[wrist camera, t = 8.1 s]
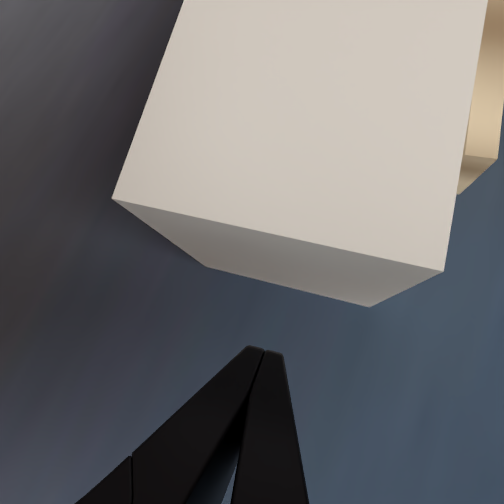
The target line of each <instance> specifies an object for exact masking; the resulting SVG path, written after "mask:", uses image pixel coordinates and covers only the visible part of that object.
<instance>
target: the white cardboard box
mask: <svg viewBox="0 0 504 504" xmlns="http://www.w3.org/2000/svg"><path fill="white" fill-rule="evenodd" d="M487 3H488V0H184V2H183V4H182V7H181V10H180V13H179V15H178V18H177V21H176V23H175V26H174V29H173V32H172V34H171V37H170V40H169V43H168V45H167V48H166V51H165V54H164V56H163V59H162V62H161V64H160V67H159V70H158V73H157V75H156V78H155V81H154V84H153V86H152V89H151V92H150V95H149V97H148V100H147V103H146V106H145V108H144V111H143V114H142V116H141V119H140V122H139V125H138V127H137V130H136V133H135V136H134V138H133V141H132V144H131V147H130V149H129V152H128V155H127V158H126V160H125V163H124V166H123V168H122V171H121V174H120V177H119V179H118V182H117V185H116V188H115V190H114V193H113V196H112V199H113V200H114V201H116V202H117V203H118V204H120V205H121V206H123V207H124V208H125V209H127V210H128V211H130V212H131V213H132V214H134V215H135V216H136V217H138V218H139V219H141V220H142V221H143V222H145V223H146V224H147V225H149V226H150V227H152V228H153V229H154V230H156V231H157V232H159V233H160V234H161V235H163V236H164V237H165V238H167V239H168V240H170V241H171V242H172V243H174V244H175V245H177V246H178V247H179V248H181V249H182V250H183V251H185V252H186V253H188V254H189V255H190V256H192V257H193V258H194V259H196V260H197V261H199V262H200V263H201V264H203V265H204V266H206V267H209V268H213V269H217V270H221V271H225V272H229V273H233V274H237V275H241V276H245V277H249V278H254V279H258V280H262V281H266V282H270V283H274V284H278V285H282V286H286V287H290V288H294V289H298V290H302V291H306V292H310V293H314V294H318V295H322V296H326V297H330V298H334V299H338V300H342V301H346V302H350V303H354V304H358V305H362V306H366V307H371V306H373V305H375V304H377V303H379V302H381V301H383V300H385V299H387V298H389V297H391V296H394V295H396V294H398V293H400V292H402V291H404V290H406V289H408V288H410V287H412V286H414V285H416V284H419V283H421V282H423V281H425V280H427V279H429V278H431V277H433V276H435V275H437V274H439V273H441V272H444V266H445V260H446V254H447V247H448V241H449V235H450V229H451V223H452V217H453V211H454V205H455V198H456V192H457V186H458V180H459V174H460V168H461V162H462V156H463V150H464V143H465V137H466V131H467V125H468V119H469V113H470V107H471V101H472V94H473V88H474V82H475V76H476V70H477V64H478V58H479V52H480V45H481V39H482V33H483V27H484V21H485V15H486V9H487Z"/></svg>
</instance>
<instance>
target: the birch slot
mask: <svg viewBox="0 0 504 504" xmlns="http://www.w3.org/2000/svg"><path fill="white" fill-rule="evenodd" d="M503 102H504V0H488V3H487V9H486V15H485V21H484V27H483V33H482V39H481V45H480V52H479V58H478V64H477V70H476V76H475V82H474V88H473V94H472V101H471V107H470V113H469V119H468V125H467V131H466V137H465V143H464V150H463V156H462V162H461V168H460V174H459V180H458V186H457V192H456V194H460V193H461V192H462V191H463V190H465V189H466V188H467V187H468V186H469V185H470V184H471V183H472V182H473V181H474V180H475V179H476V178H478V177H479V176H480V175H481V174H482V173H483V172H484V171H485V170H486V169H487V168H488V167H489V166H490V165H492V164H493V163H494V162H495V161H496V160H497V158H498V149H499V140H500V130H501V121H502V112H503Z"/></svg>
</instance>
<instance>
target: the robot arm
mask: <svg viewBox="0 0 504 504" xmlns="http://www.w3.org/2000/svg"><path fill="white" fill-rule="evenodd" d="M236 464H237V468H236V474H235V480H234V486H233V492H232V498H231V503H230V504H309V500H308V494H307V488H306V483H305V477H304V471H303V465H302V460H301V454H300V448H299V443H298V437H297V431H296V425H295V420H294V414H293V408H292V403H291V397H290V391H289V385H288V380H287V374H286V368H285V363H284V357H283V355H282V354H281V353H278V352H274V351H270V350H266V351H264V349H262V348H259V347H255V346H251V345H249V346H246V347H245V348H244V349H243V350H242V351H241V352H240V353H239V354H238V355H236V356H235V357H234V358H233V359H232V360H231V361H230V362H229V363H228V364H227V365H226V366H225V367H224V368H223V369H221V370H220V371H219V372H218V373H217V374H216V375H215V376H214V377H213V378H212V379H211V380H210V381H209V382H208V383H206V384H205V385H204V386H203V387H202V388H201V389H200V390H199V391H198V392H197V393H196V394H195V395H194V396H193V397H191V398H190V399H189V400H188V401H187V402H186V403H185V404H184V405H183V406H182V407H181V408H180V409H179V410H178V411H176V412H175V413H174V414H173V415H172V416H171V417H170V418H169V419H168V420H167V421H166V422H165V423H164V424H163V425H161V426H160V427H159V428H158V429H157V430H156V431H155V432H154V433H153V434H152V435H151V436H150V437H149V438H148V439H146V440H145V441H144V442H143V443H142V444H141V445H140V446H139V447H138V448H137V449H136V450H135V451H134V452H133V453H132V457H131V456H128V457H127V458H126V459H125V460H124V461H123V462H122V463H121V464H119V465H118V466H117V467H116V468H115V469H114V470H113V471H112V472H111V473H110V474H109V475H107V476H106V477H105V478H104V479H103V480H102V481H101V482H100V483H98V484H97V485H96V486H95V487H94V488H93V489H92V490H91V491H89V492H88V493H87V494H86V495H85V496H84V497H82V498H81V499H80V500H79V501H77V502H76V503H75V504H221V503H222V500H223V498H224V495H225V493H226V490H227V487H228V485H229V482H230V480H231V477H232V475H233V472H234V470H235V467H236Z"/></svg>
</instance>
